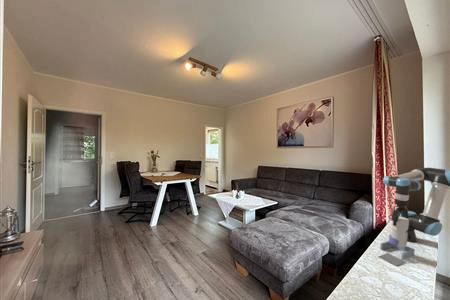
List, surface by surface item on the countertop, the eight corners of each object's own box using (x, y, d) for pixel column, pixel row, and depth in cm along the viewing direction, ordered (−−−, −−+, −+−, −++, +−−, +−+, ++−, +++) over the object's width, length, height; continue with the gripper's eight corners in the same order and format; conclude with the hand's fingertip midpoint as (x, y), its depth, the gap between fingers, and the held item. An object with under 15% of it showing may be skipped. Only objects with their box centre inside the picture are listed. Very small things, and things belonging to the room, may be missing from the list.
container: (410, 248, 143) (412, 221, 142) (394, 246, 145) (396, 219, 144) (400, 241, 153) (403, 215, 151) (386, 239, 155) (388, 214, 153)
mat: (387, 253, 147) (387, 253, 147) (405, 262, 137) (405, 261, 137) (378, 257, 143) (378, 256, 143) (396, 266, 133) (396, 265, 133)
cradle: (391, 245, 159) (391, 239, 159) (414, 255, 146) (414, 249, 145) (380, 249, 153) (380, 243, 153) (402, 260, 140) (403, 253, 140)
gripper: (404, 196, 154) (401, 224, 156) (386, 199, 145) (384, 228, 147) (416, 199, 147) (413, 228, 149) (398, 202, 139) (396, 233, 140)
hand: (398, 228), depth 148 cm, fingers closed on container, 10 cm apart
